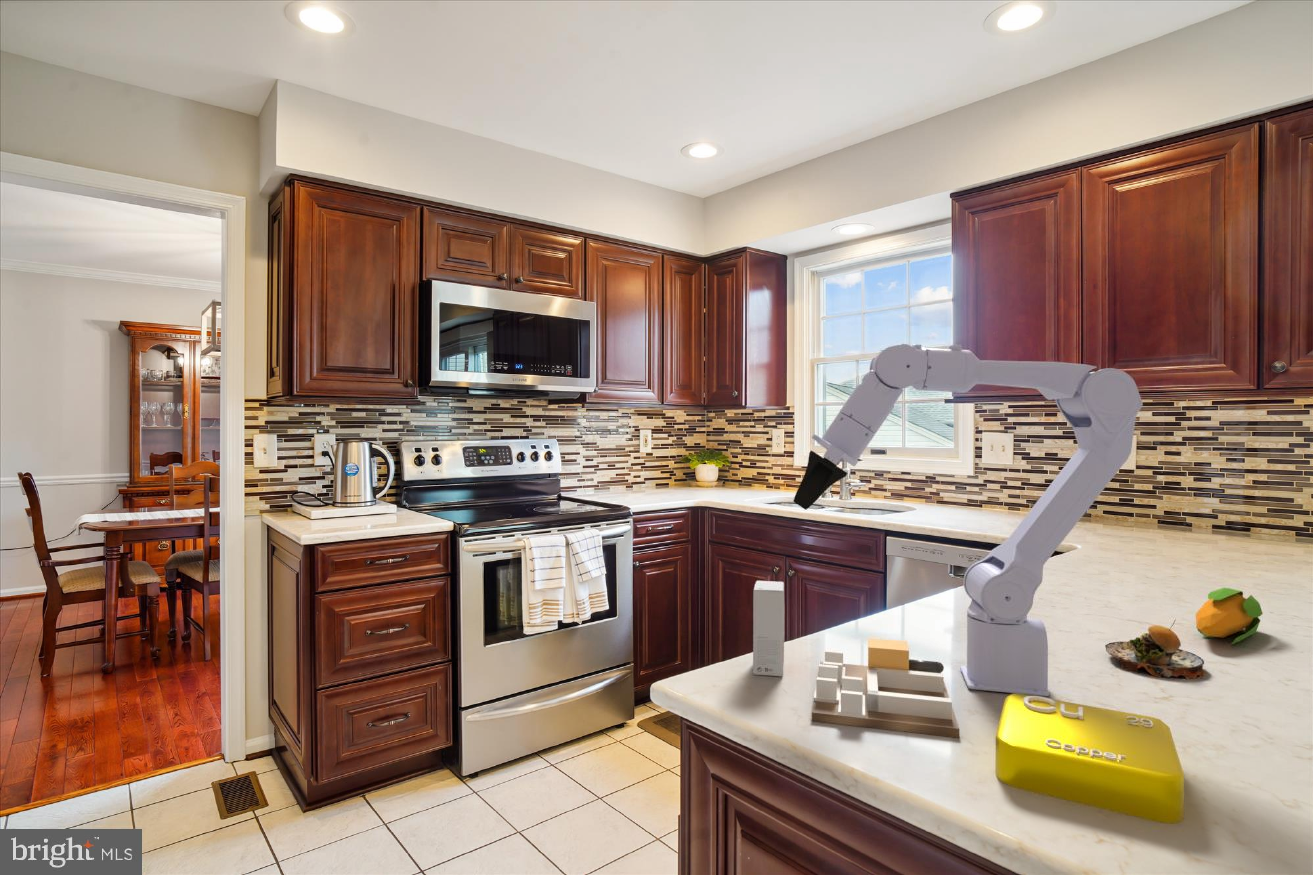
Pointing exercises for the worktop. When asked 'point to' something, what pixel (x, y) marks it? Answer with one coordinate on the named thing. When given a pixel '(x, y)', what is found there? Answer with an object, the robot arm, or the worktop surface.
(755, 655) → the skincare box
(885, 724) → the board
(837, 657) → the clip
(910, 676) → the frame
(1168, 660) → the burger
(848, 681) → the clip
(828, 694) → the clip
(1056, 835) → the worktop surface
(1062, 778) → the element tile
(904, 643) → the block
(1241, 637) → the corn
